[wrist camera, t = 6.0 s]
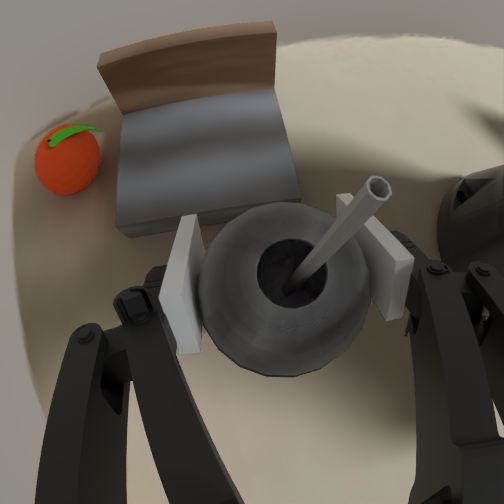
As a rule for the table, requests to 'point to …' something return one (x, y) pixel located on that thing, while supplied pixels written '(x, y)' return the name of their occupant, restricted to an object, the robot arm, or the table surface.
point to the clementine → (67, 159)
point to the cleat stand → (198, 127)
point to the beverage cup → (289, 284)
